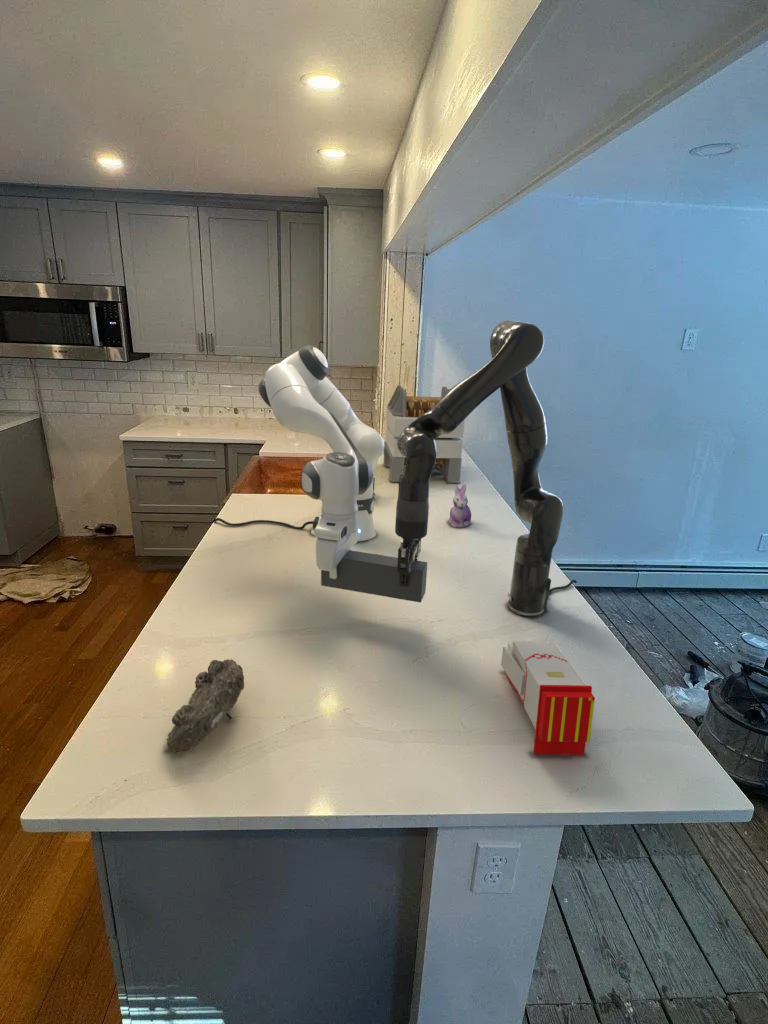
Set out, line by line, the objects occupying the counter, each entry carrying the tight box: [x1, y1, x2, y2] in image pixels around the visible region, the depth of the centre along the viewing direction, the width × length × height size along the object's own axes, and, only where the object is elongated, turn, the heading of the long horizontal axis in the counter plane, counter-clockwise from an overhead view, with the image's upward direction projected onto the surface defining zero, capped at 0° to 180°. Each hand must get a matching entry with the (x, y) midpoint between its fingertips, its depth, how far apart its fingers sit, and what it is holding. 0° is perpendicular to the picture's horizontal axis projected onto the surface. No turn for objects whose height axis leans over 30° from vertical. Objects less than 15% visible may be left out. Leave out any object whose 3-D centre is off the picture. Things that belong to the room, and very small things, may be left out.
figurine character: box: [373, 477, 376, 497], centre depth 233 cm, size 7×8×15 cm
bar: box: [320, 549, 428, 603], centre depth 139 cm, size 26×5×8 cm, turn 74°
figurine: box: [448, 483, 472, 528], centre depth 209 cm, size 9×10×15 cm
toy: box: [500, 640, 596, 756], centre depth 114 cm, size 12×13×30 cm
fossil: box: [166, 658, 245, 754], centre depth 106 cm, size 22×10×15 cm
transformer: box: [383, 384, 466, 484], centre depth 268 cm, size 34×33×41 cm
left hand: (338, 572), depth 142 cm, fingers closed on bar, 5 cm apart
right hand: (408, 578), depth 137 cm, fingers open, 7 cm apart
